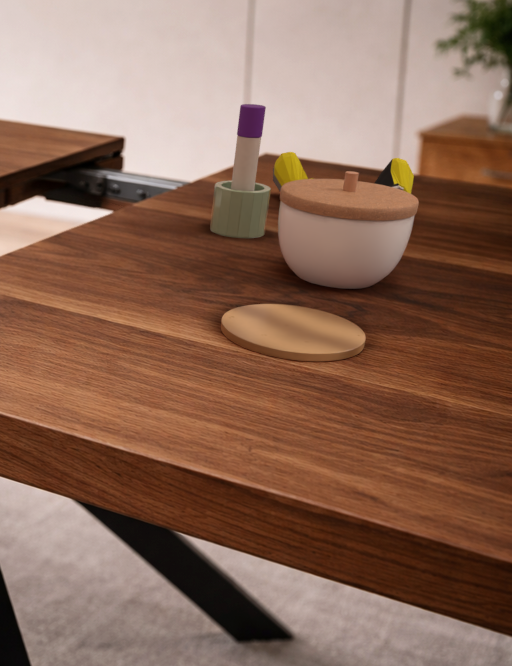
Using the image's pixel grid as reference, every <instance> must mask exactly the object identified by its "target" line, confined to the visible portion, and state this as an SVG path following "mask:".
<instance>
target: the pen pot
mask: <svg viewBox="0 0 512 666" xmlns="http://www.w3.org/2000/svg"><path fill="white" fill-rule="evenodd" d="M231 183H232V179H231V180H221V181H217V182H216V183H214V189H213V197H212V206H211V214H210V225H209V229H210V232H212V233H215V234H216V235H219V236H224V237H227V238H228V237H229V238H237V239H254V238H261V237H263V236H264V235H265V233H266V229H267V221H268V214H269V206H270V199H271V192H272V188H271V187H270V186H269V185H266V184H264V183H260V182H255V188H254V191H241V190H233V189H231Z"/></svg>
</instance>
